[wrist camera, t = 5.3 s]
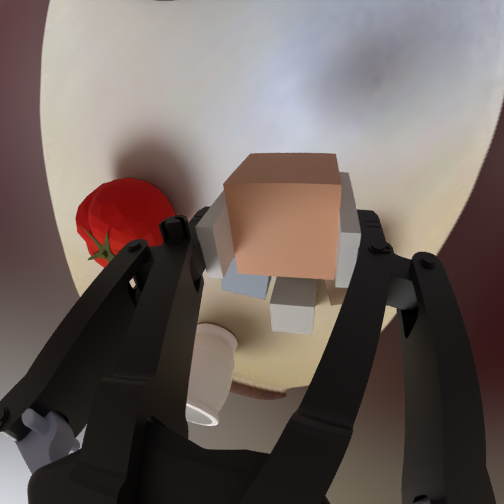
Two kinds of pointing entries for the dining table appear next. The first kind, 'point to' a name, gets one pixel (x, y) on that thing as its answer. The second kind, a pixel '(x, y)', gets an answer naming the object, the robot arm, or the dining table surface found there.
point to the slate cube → (245, 282)
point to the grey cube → (293, 305)
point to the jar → (210, 373)
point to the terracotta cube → (285, 214)
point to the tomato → (121, 217)
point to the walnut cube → (335, 292)
